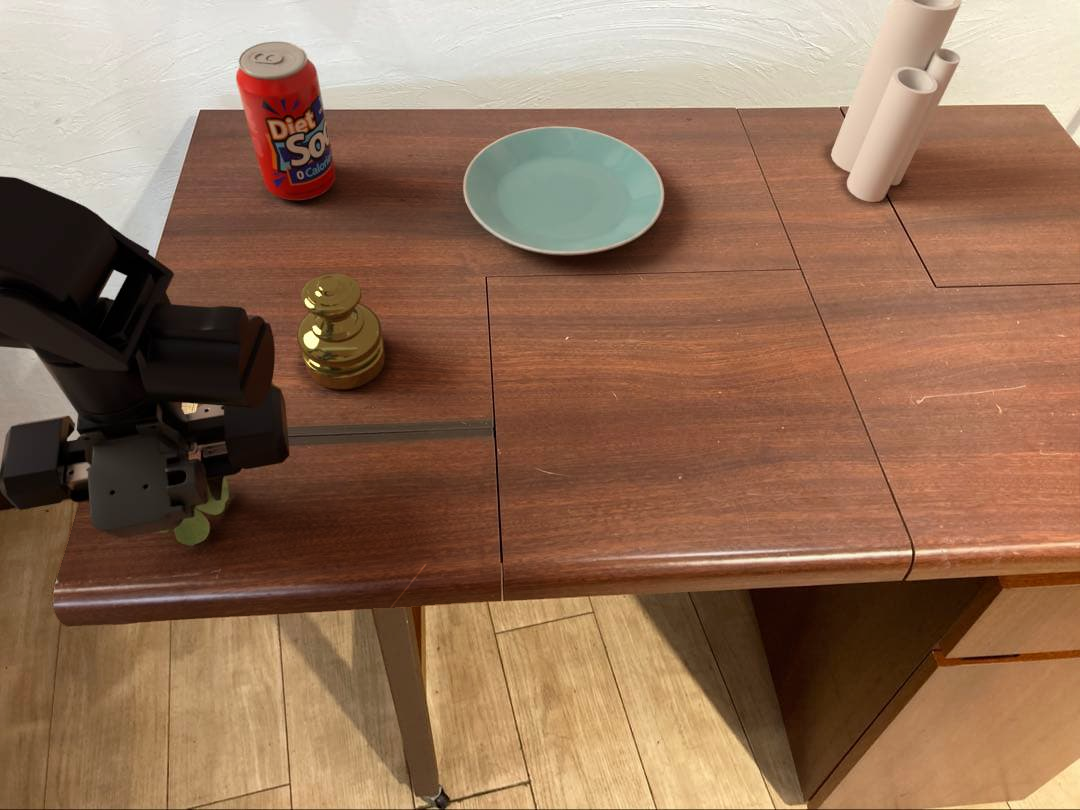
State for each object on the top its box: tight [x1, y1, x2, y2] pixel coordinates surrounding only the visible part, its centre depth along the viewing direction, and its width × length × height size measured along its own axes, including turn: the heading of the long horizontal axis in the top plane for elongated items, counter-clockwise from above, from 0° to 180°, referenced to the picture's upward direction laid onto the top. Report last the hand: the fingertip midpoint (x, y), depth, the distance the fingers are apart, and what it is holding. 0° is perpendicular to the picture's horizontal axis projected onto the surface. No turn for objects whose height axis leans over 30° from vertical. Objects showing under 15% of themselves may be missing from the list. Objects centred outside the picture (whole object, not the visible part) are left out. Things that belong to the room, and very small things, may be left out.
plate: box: [462, 125, 665, 256], centre depth 90 cm, size 22×22×3 cm
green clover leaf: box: [158, 476, 230, 547], centre depth 64 cm, size 7×8×7 cm
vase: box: [830, 0, 962, 203], centre depth 90 cm, size 11×7×20 cm, turn 8°
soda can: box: [235, 41, 336, 201], centre depth 85 cm, size 8×8×15 cm
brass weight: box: [296, 272, 386, 390], centre depth 72 cm, size 7×7×10 cm
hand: (186, 501), depth 65 cm, fingers closed on green clover leaf, 4 cm apart
